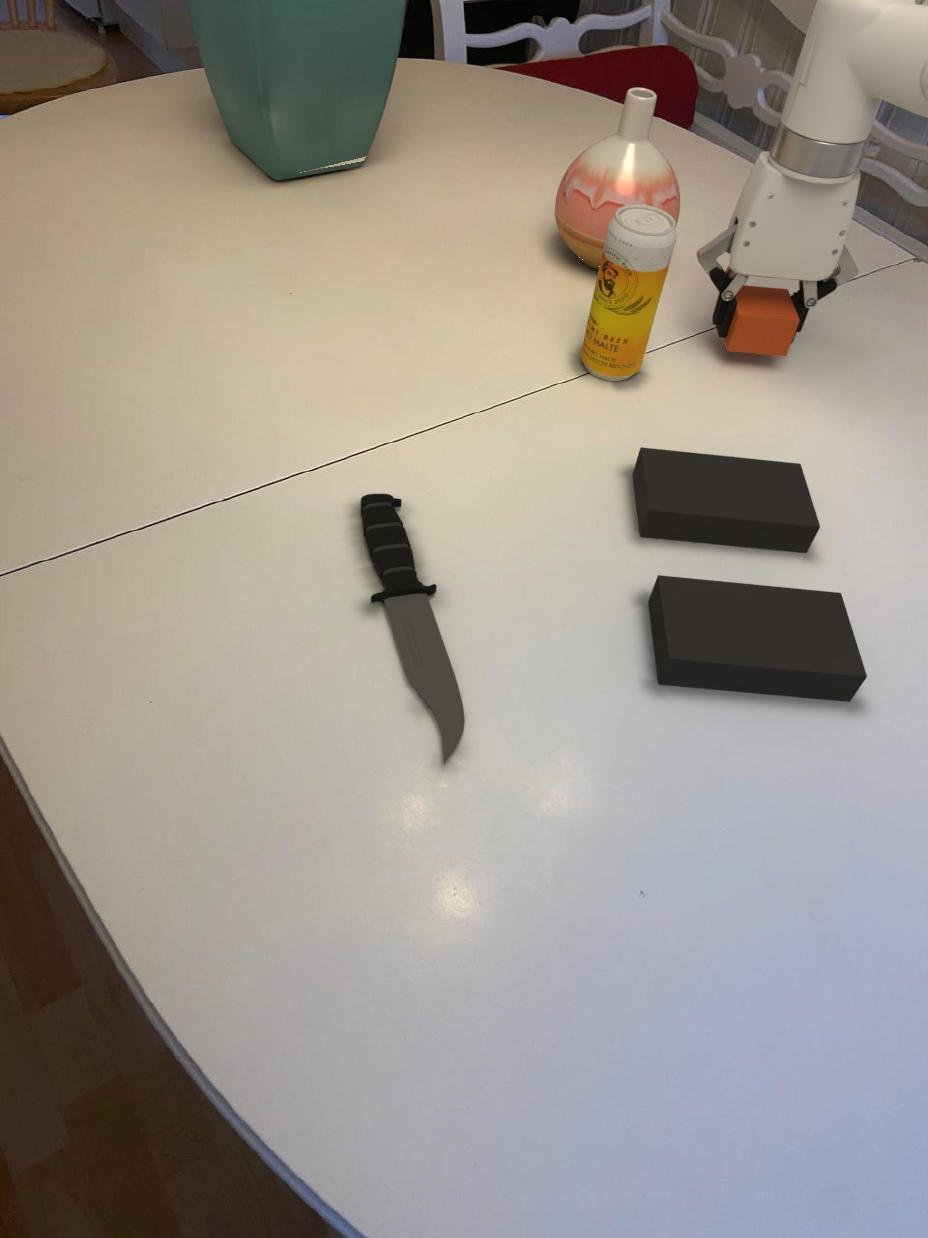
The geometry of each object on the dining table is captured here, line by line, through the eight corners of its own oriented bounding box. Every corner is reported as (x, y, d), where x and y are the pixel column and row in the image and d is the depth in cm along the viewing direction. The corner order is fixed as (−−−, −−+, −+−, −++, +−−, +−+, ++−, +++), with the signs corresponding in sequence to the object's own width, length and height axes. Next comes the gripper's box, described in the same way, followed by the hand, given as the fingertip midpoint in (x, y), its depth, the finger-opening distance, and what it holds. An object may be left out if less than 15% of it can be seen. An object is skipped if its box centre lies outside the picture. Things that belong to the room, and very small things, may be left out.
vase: (522, 248, 106) (547, 80, 93) (602, 219, 113) (636, 59, 100) (609, 301, 100) (649, 130, 87) (688, 268, 107) (736, 104, 94)
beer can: (566, 360, 92) (596, 211, 81) (608, 342, 95) (643, 196, 84) (610, 391, 89) (647, 241, 78) (652, 371, 92) (694, 224, 81)
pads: (788, 489, 82) (800, 463, 80) (849, 702, 67) (867, 676, 64) (632, 473, 81) (640, 446, 79) (658, 684, 66) (669, 658, 64)
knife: (497, 747, 59) (421, 762, 58) (494, 761, 60) (420, 775, 59) (404, 489, 75) (342, 496, 73) (403, 503, 76) (342, 511, 75)
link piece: (775, 324, 96) (788, 288, 93) (786, 356, 92) (800, 320, 89) (718, 319, 96) (729, 283, 93) (726, 351, 92) (738, 314, 89)
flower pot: (330, 113, 126) (327, -153, 105) (408, 173, 116) (422, -107, 95) (191, 135, 118) (157, -150, 96) (263, 202, 107) (242, -99, 86)
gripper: (902, 141, 83) (828, 321, 97) (712, 122, 83) (664, 306, 96) (926, 176, 78) (845, 361, 92) (724, 157, 78) (672, 346, 91)
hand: (753, 331), depth 94 cm, fingers closed on link piece, 6 cm apart
